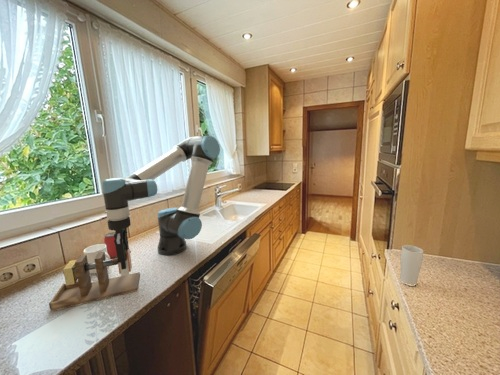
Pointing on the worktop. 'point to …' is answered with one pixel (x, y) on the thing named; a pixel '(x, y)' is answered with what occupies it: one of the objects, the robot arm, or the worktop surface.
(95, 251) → the mug
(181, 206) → the robot arm
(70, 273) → the spacer
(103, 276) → the wooden stand
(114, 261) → the mallet
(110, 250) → the beer can
